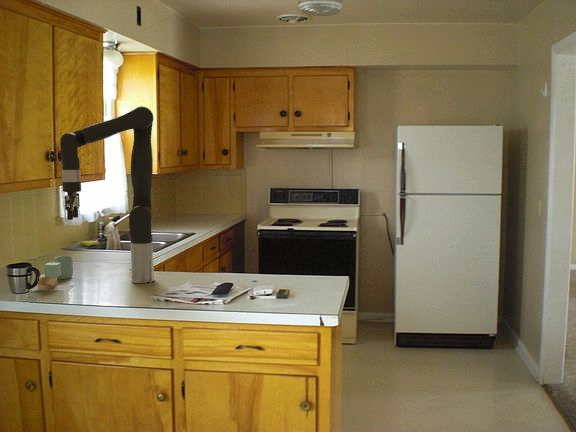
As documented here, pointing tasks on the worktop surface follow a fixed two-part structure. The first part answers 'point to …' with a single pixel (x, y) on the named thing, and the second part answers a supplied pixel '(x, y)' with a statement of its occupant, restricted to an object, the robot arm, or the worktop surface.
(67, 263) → the cup
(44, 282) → the oak block
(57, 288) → the pale flat slab
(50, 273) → the teal block
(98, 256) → the worktop surface
